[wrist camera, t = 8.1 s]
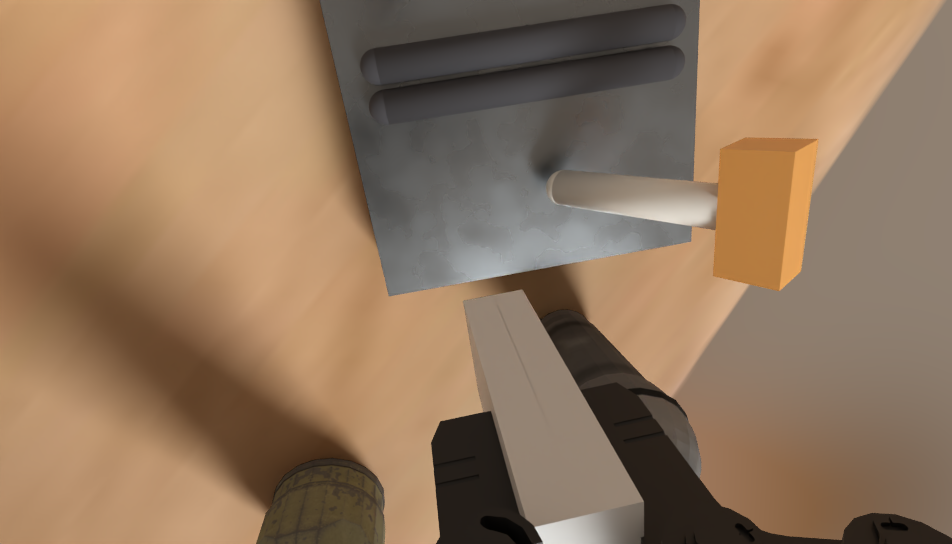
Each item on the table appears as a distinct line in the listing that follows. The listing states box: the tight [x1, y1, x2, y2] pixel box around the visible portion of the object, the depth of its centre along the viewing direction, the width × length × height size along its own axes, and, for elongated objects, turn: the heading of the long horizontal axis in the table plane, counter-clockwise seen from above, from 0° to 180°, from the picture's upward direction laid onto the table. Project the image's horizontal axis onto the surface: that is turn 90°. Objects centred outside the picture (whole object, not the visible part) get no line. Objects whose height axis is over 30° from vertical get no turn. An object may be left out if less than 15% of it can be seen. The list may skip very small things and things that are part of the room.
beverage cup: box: [540, 310, 701, 479], centre depth 27 cm, size 7×7×20 cm
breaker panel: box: [320, 0, 700, 296], centre depth 27 cm, size 18×22×5 cm
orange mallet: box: [546, 138, 818, 291], centre depth 22 cm, size 2×5×12 cm
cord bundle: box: [360, 4, 686, 125], centre depth 24 cm, size 16×3×2 cm, turn 98°
